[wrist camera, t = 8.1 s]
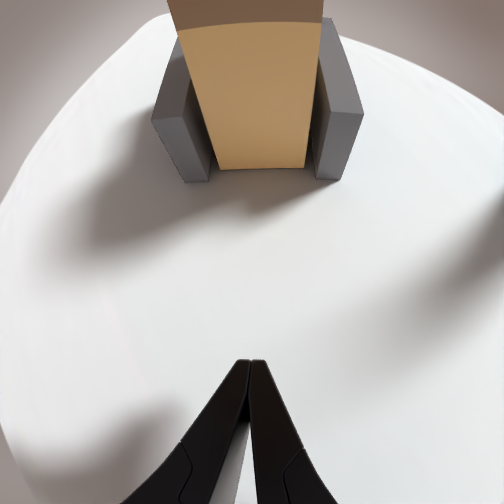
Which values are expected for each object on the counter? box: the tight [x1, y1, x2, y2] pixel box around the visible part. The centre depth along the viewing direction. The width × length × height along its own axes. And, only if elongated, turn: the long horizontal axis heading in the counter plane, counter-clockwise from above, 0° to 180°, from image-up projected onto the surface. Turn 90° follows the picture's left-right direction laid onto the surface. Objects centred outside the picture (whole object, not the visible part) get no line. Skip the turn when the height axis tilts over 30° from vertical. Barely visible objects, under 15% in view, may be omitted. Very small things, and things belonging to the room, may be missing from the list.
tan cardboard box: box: [167, 0, 324, 170], centre depth 12 cm, size 5×5×12 cm
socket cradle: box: [151, 17, 364, 183], centre depth 16 cm, size 9×9×6 cm
